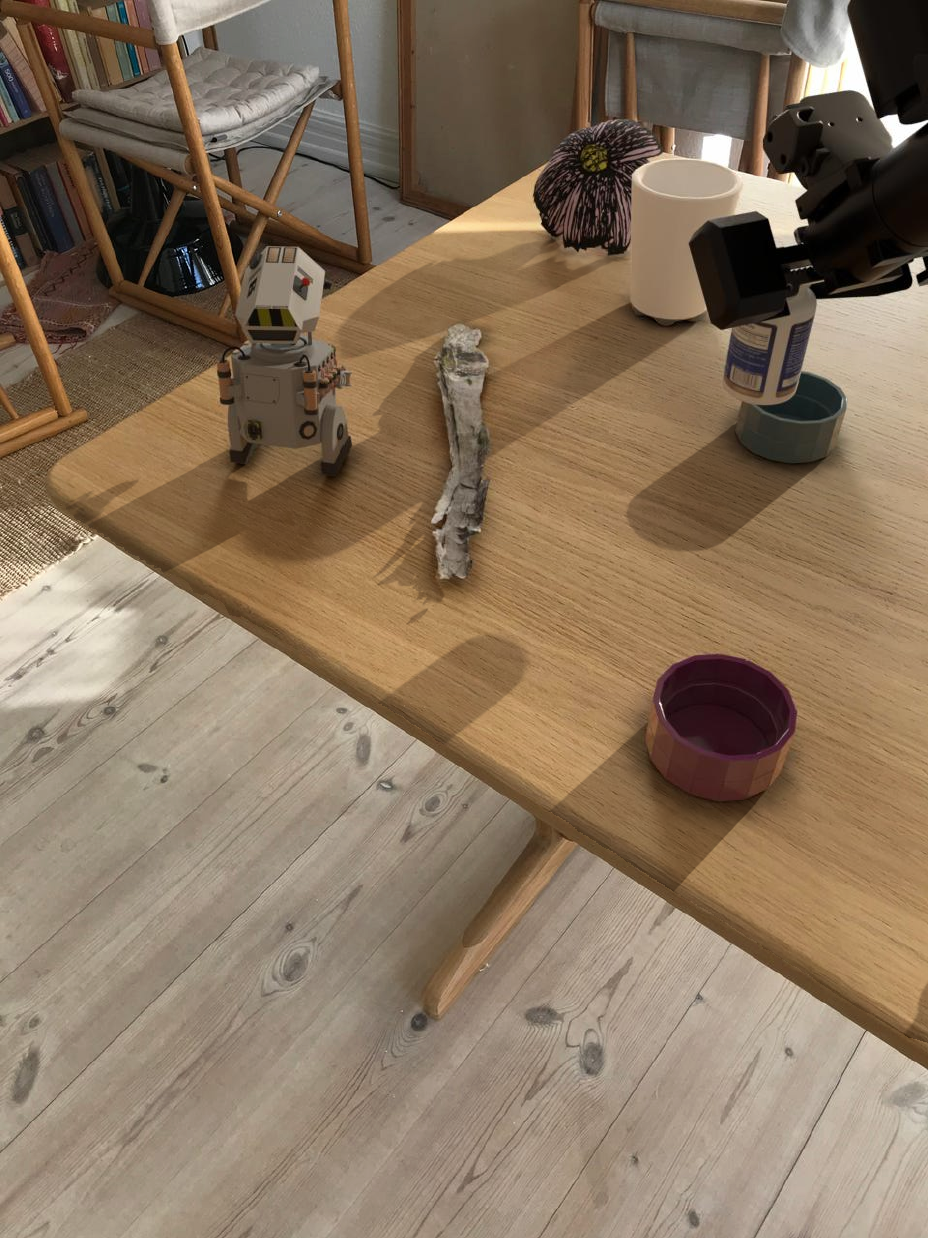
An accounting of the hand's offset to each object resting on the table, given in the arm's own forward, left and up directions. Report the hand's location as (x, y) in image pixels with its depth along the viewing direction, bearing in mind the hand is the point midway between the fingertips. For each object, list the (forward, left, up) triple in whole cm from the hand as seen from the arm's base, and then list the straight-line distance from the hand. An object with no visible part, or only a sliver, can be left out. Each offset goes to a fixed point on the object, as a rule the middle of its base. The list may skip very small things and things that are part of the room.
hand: (764, 299), depth 71 cm
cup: (+9, -24, -14) cm, 29 cm away
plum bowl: (-3, +29, -14) cm, 33 cm away
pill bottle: (-1, +1, -7) cm, 7 cm away
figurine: (+34, +8, -14) cm, 38 cm away
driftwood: (+22, +3, -14) cm, 26 cm away
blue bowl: (-4, -5, -14) cm, 16 cm away
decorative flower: (+20, -40, -14) cm, 47 cm away
